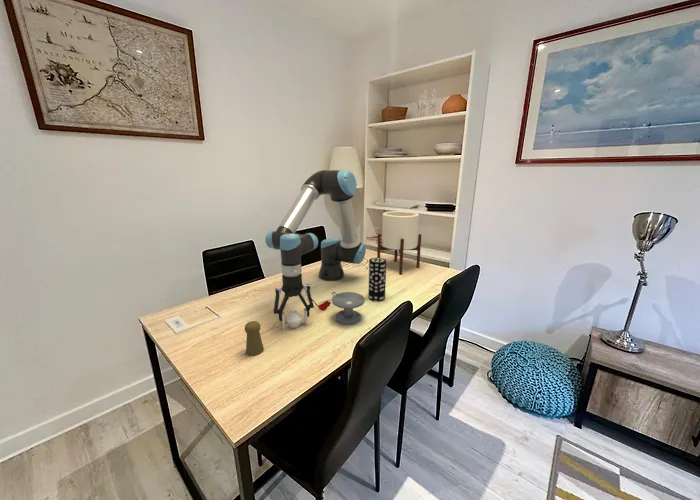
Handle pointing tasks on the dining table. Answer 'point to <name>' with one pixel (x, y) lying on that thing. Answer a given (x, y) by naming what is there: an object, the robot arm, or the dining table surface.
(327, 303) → the glasses
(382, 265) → the spotted tube
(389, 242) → the plant pot with stand
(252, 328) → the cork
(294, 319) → the muffin
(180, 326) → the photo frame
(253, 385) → the dining table surface
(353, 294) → the cake stand
